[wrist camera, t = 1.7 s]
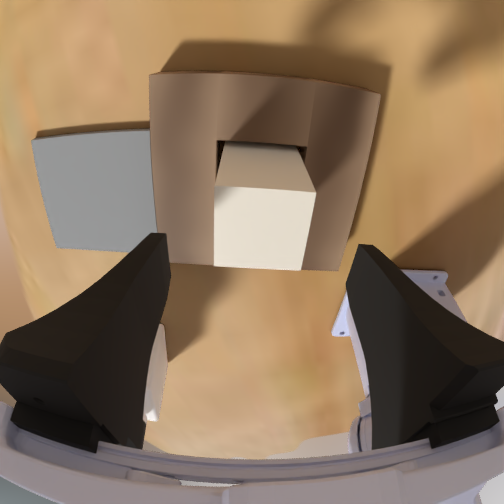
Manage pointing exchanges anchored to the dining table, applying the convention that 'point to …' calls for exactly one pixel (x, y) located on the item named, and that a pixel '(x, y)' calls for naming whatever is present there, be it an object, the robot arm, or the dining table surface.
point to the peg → (261, 206)
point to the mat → (97, 188)
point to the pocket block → (256, 130)
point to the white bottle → (155, 379)
